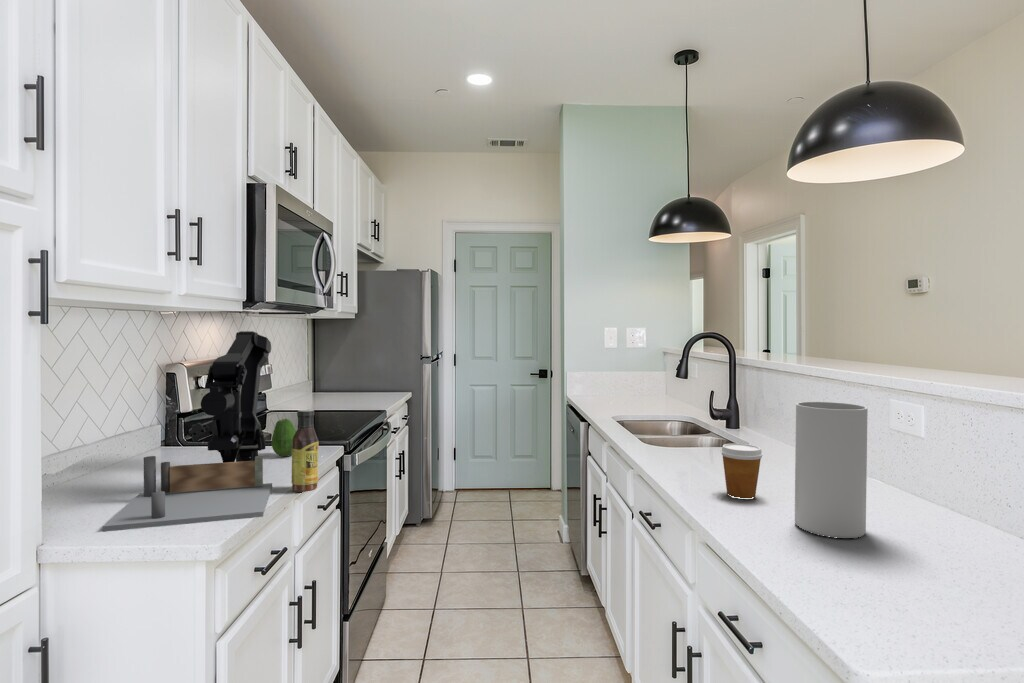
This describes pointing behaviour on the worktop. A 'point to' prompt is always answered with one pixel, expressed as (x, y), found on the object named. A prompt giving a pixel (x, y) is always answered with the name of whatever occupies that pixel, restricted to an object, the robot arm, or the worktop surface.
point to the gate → (211, 475)
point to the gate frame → (188, 504)
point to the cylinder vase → (831, 468)
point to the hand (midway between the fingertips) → (228, 471)
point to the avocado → (283, 437)
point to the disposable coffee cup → (741, 469)
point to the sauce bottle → (305, 453)
